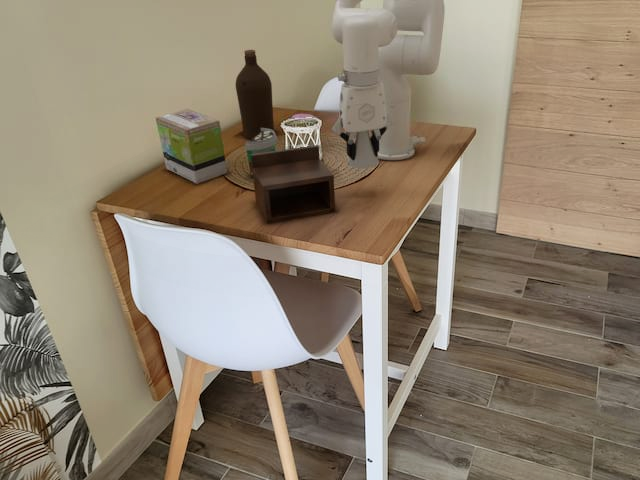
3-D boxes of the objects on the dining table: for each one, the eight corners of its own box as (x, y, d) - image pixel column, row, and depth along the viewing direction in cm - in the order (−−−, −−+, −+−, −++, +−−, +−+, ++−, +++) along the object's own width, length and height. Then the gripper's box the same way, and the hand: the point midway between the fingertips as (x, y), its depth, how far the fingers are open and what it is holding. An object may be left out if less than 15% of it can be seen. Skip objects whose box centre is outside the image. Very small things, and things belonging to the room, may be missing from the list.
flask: (347, 158, 138) (345, 117, 132) (376, 156, 138) (376, 116, 133) (349, 170, 132) (347, 128, 126) (380, 168, 132) (380, 126, 126)
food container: (271, 181, 147) (267, 143, 141) (249, 179, 148) (244, 142, 143) (286, 163, 157) (283, 128, 152) (265, 162, 158) (261, 127, 153)
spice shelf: (320, 191, 141) (317, 144, 134) (335, 211, 131) (333, 162, 125) (256, 202, 136) (250, 154, 130) (266, 223, 126) (261, 172, 120)
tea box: (165, 170, 154) (153, 116, 146) (197, 160, 160) (187, 107, 153) (196, 185, 145) (186, 128, 138) (228, 173, 152) (220, 118, 144)
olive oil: (276, 139, 174) (268, 53, 161) (241, 141, 173) (230, 55, 160) (275, 128, 183) (267, 46, 170) (242, 130, 182) (231, 48, 169)
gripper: (329, 86, 119) (333, 168, 129) (404, 77, 123) (402, 156, 133) (319, 77, 124) (323, 156, 134) (390, 69, 129) (390, 145, 139)
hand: (363, 155), depth 134 cm, fingers closed on flask, 4 cm apart
